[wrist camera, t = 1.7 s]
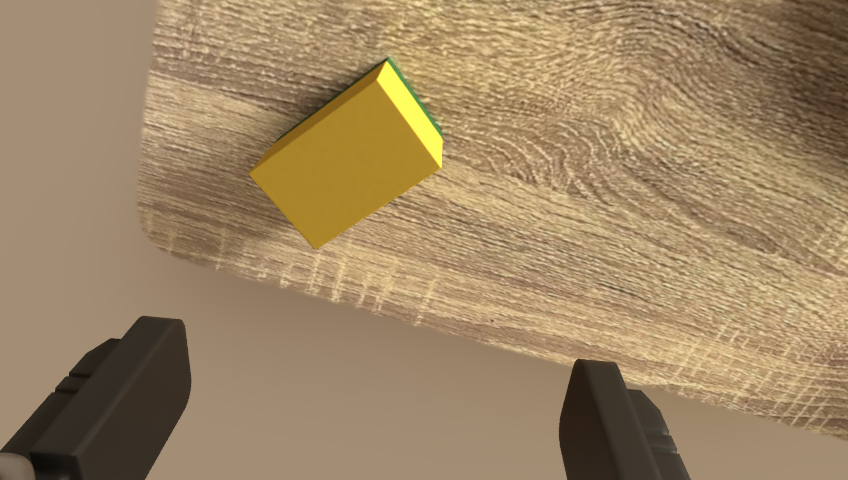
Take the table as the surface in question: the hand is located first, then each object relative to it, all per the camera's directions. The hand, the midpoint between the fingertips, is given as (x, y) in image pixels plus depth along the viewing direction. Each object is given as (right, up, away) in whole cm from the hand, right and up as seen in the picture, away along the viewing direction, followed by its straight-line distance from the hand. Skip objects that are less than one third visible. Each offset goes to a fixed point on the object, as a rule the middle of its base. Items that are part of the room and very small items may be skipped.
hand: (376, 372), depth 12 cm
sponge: (-2, +8, +17) cm, 19 cm away
